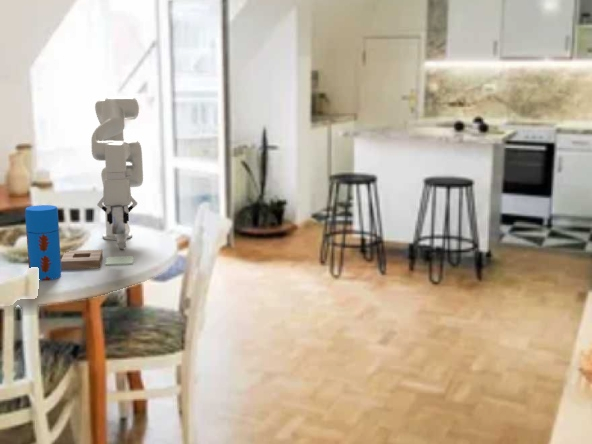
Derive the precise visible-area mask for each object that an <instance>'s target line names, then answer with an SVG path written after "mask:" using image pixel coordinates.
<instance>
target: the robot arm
mask: <svg viewBox="0 0 592 444" xmlns="http://www.w3.org/2000/svg"><path fill="white" fill-rule="evenodd" d="M94 110H95V114H96V118H97V120H98V122H99V125H98V126H97V127H96V128H95V129H94V131H93V133H92V136H91V142H90V143H91V156H92V158H93V159H95V160H96V161H98V162H99V161H104V163H105V167H103V168H102V170H101V175H100V176H101V181H102V187H103V189H102V190H103V193H102V198H101V199H100V200H99V201H98V202H97V204H96V205H97V207H98V208H99V209H101V210H102V211H103V212H104V213H105V215H104V216H105V233H103V234H102V238H103V239H104V240H110V241H117V239H116V237H115V235H114V234H112V230H111V206H117V205H122V206H124V209H125V224H128V225H129V221H130V214H129V213H131V211H132V210H133V209H134V208H135V207H137V205H138V202H137V201H136V200H135V198H133V197H132V193H131V192H132V191H131V190H132V189H131V188H137V187H141V186H142V185H143V183H144V171H143V151H142V145H141V143H140V141H138V140H136V139H125V138H124V129H125V120H128V121H130V120H136V119H137V118H138V116H139V113H140V112H139V111H140V108H139V102H138V100H137V98H135V97H132V96H110V97H106V98H105V99H100V100H97V101H96V102H95V105H94ZM127 163H130V164H132V165H129V164H128V165H127ZM131 203H132V204H131ZM132 237H133V233H132V232H130V233H129V235H128V236H127V239H130V238H132Z"/></svg>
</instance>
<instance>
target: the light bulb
mask: <svg viewBox="0 0 592 444" xmlns="http://www.w3.org/2000/svg"><path fill="white" fill-rule="evenodd" d="M125 230H126V233H125V234H114V235H115V237H116V239H117V240H116V242H117V247H118V249H119V250H122V251H123V250H125V248H126V247H127V236H128V235H129V233H131V227H130V225H129V223H128V224H125Z"/></svg>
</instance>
